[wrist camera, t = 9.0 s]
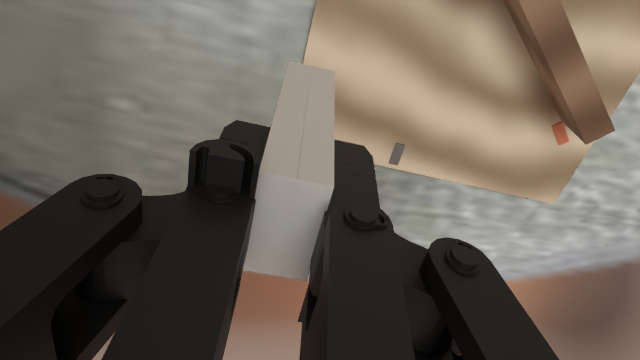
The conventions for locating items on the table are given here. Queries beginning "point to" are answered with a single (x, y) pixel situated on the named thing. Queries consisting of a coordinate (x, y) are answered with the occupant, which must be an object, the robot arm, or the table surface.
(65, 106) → the table surface
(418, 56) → the dial board
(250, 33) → the table surface
